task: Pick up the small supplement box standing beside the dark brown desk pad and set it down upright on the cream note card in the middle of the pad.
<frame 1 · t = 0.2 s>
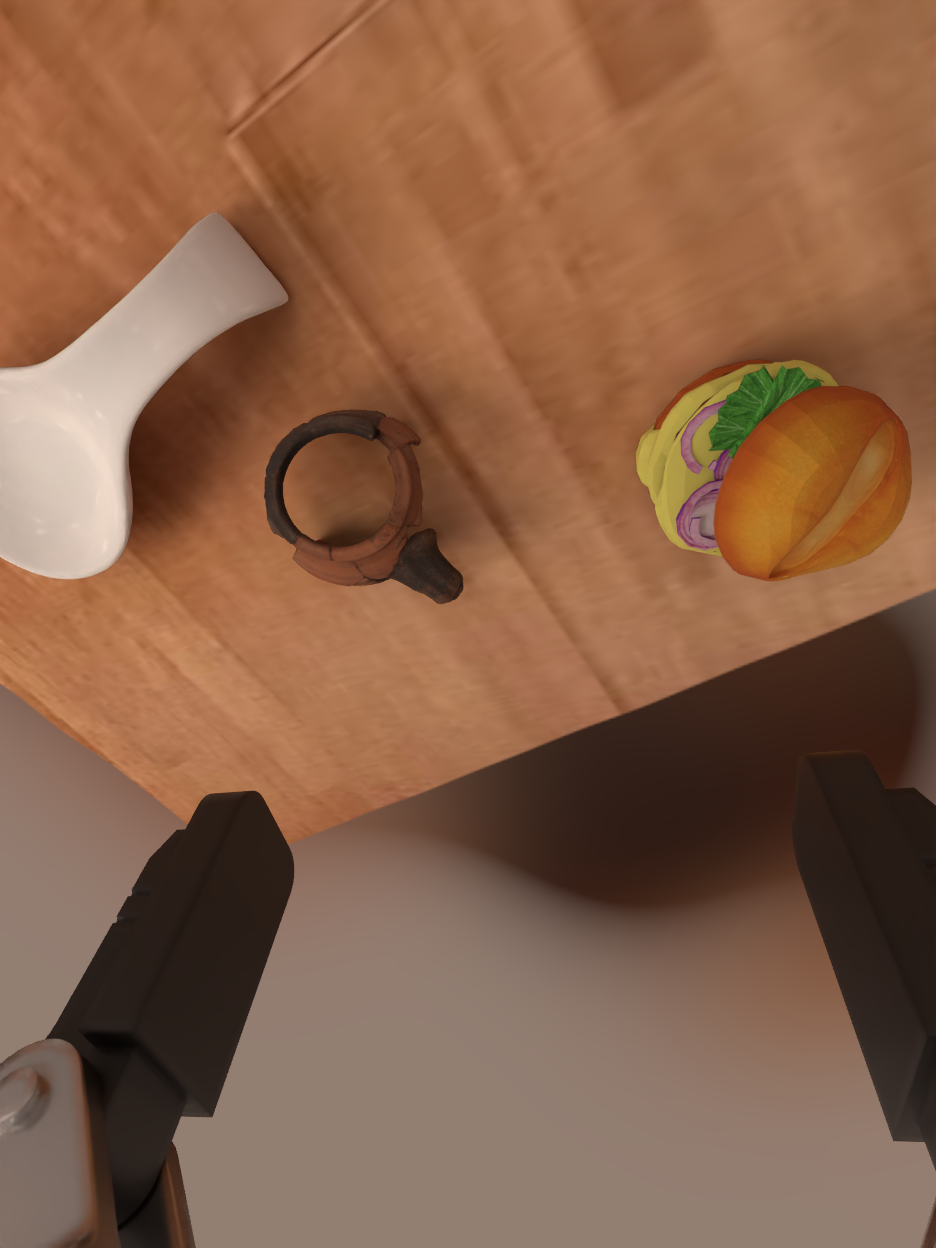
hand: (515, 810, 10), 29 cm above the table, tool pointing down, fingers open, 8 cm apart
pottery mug: (382, 498, 40), on the table
spoon rest: (120, 399, 38), on the table
cheeseburger: (746, 442, 36), on the table
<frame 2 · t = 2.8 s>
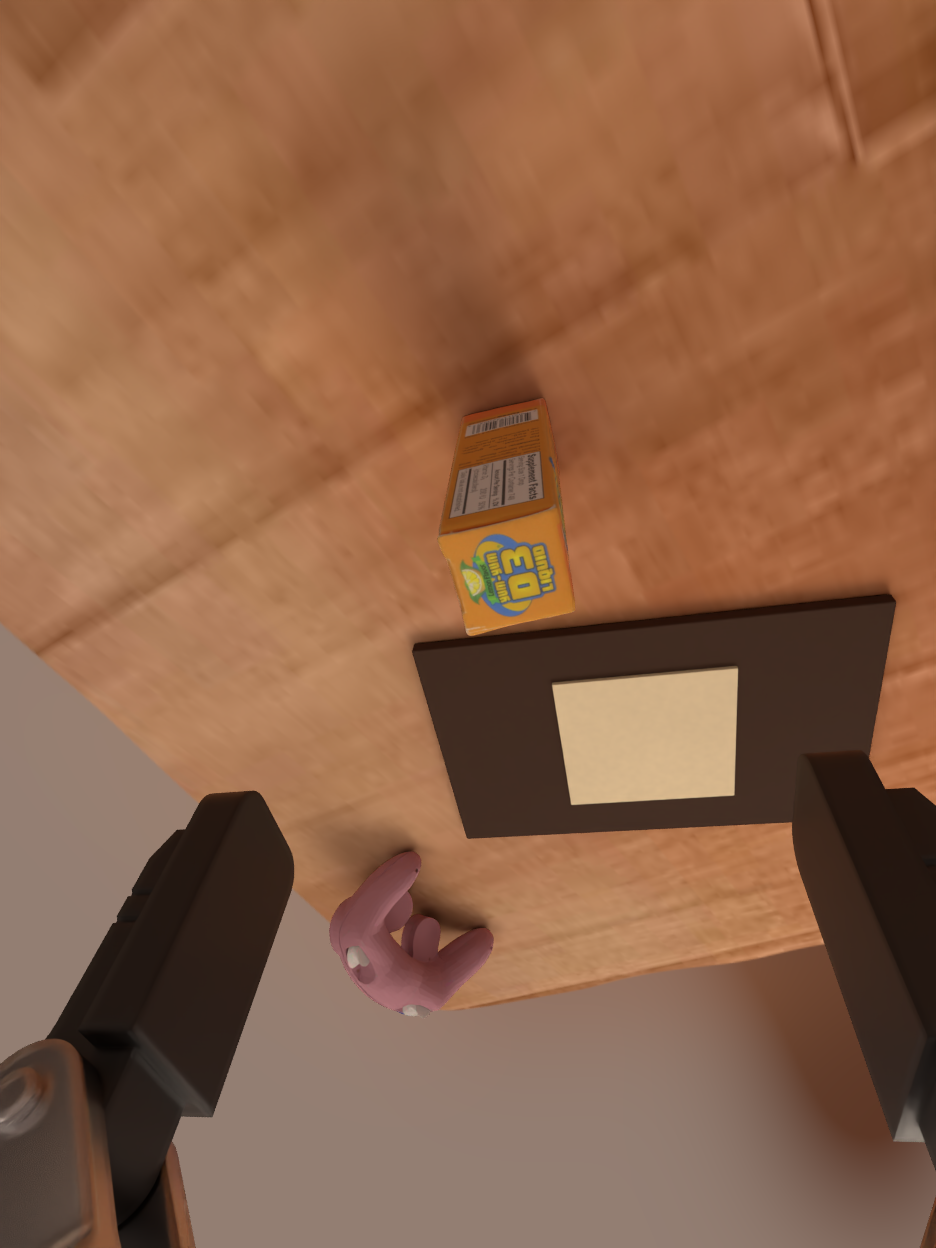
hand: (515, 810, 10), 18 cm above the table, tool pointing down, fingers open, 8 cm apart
supplement box: (515, 442, 26), on the table
video game controller: (420, 897, 43), on the table
desk pad: (645, 731, 33), on the table
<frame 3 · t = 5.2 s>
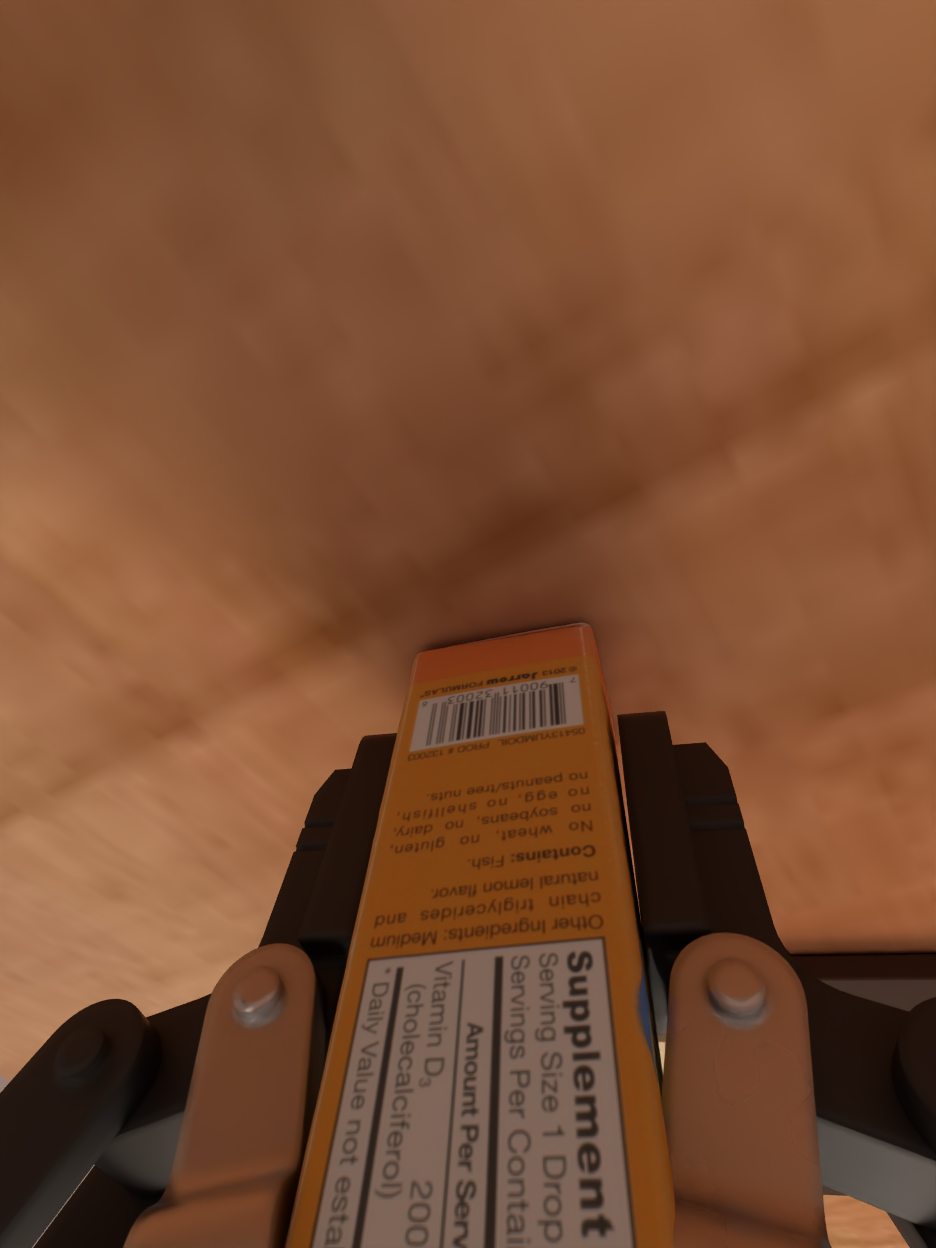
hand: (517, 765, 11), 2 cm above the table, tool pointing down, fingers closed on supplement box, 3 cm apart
supplement box: (527, 690, 13), on the table, touching gripper
desk pad: (743, 1081, 20), on the table
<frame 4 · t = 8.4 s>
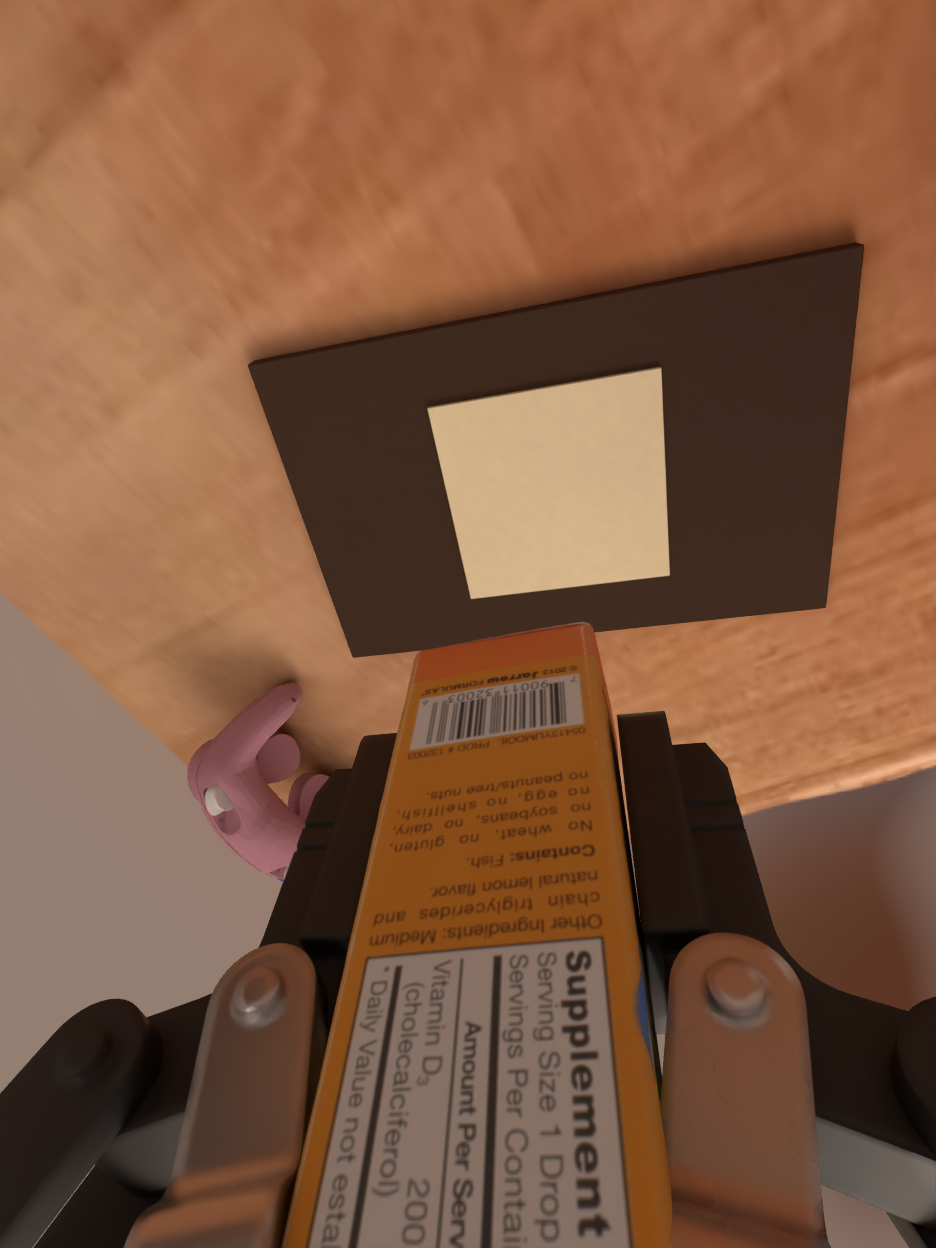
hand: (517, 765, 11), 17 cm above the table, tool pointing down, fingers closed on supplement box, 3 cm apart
supplement box: (528, 689, 13), point 15 cm above the table, touching gripper
video game controller: (313, 752, 36), on the table
desk pad: (555, 488, 26), on the table
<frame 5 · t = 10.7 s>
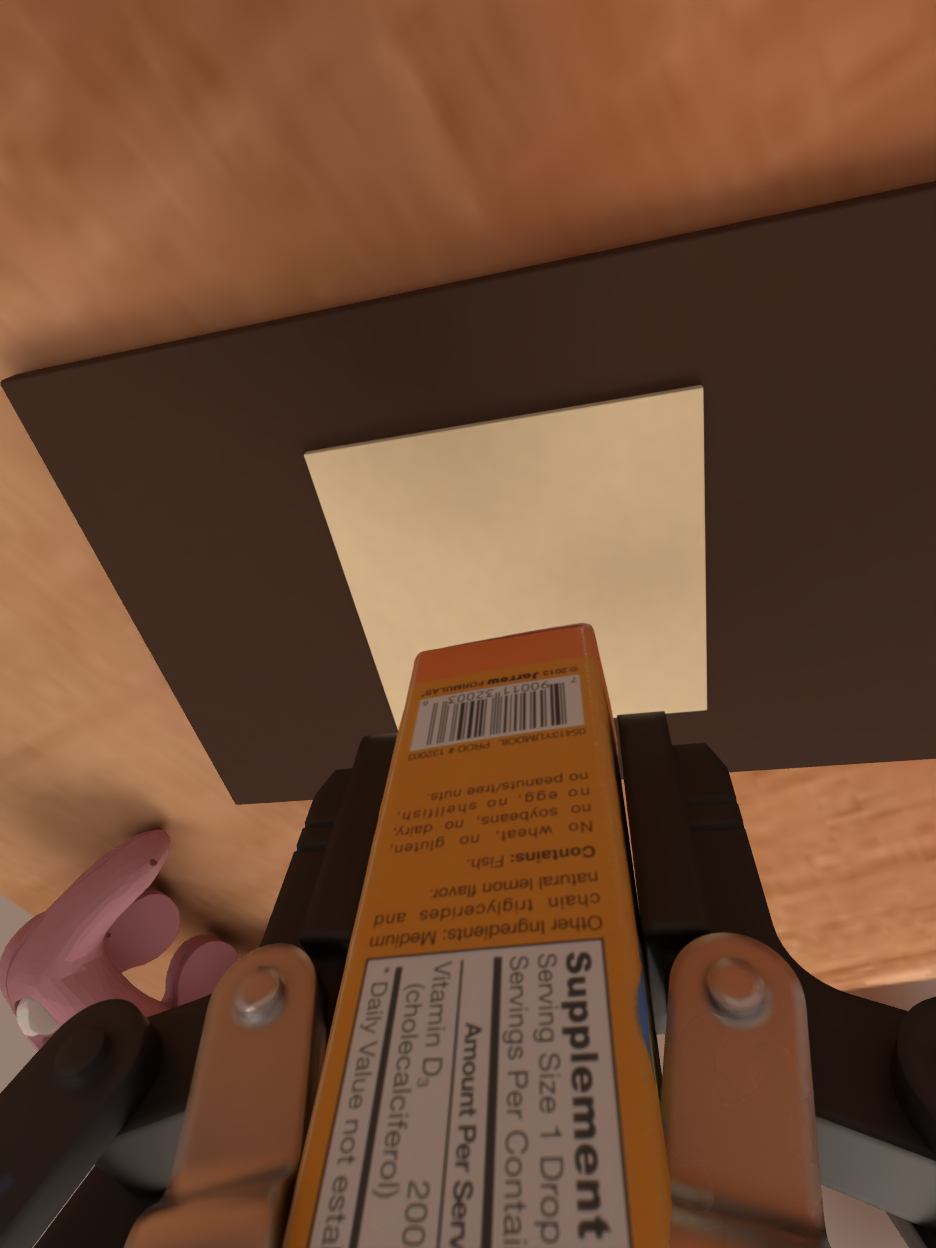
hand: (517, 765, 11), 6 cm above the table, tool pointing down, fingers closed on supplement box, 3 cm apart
supplement box: (528, 690, 13), point 4 cm above the table, touching gripper
video game controller: (203, 907, 26), on the table
desk pad: (524, 576, 16), on the table
when the fingers open (2 cm above the table, at t = 12.0 s): supplement box stays where it is, resting on desk pad.
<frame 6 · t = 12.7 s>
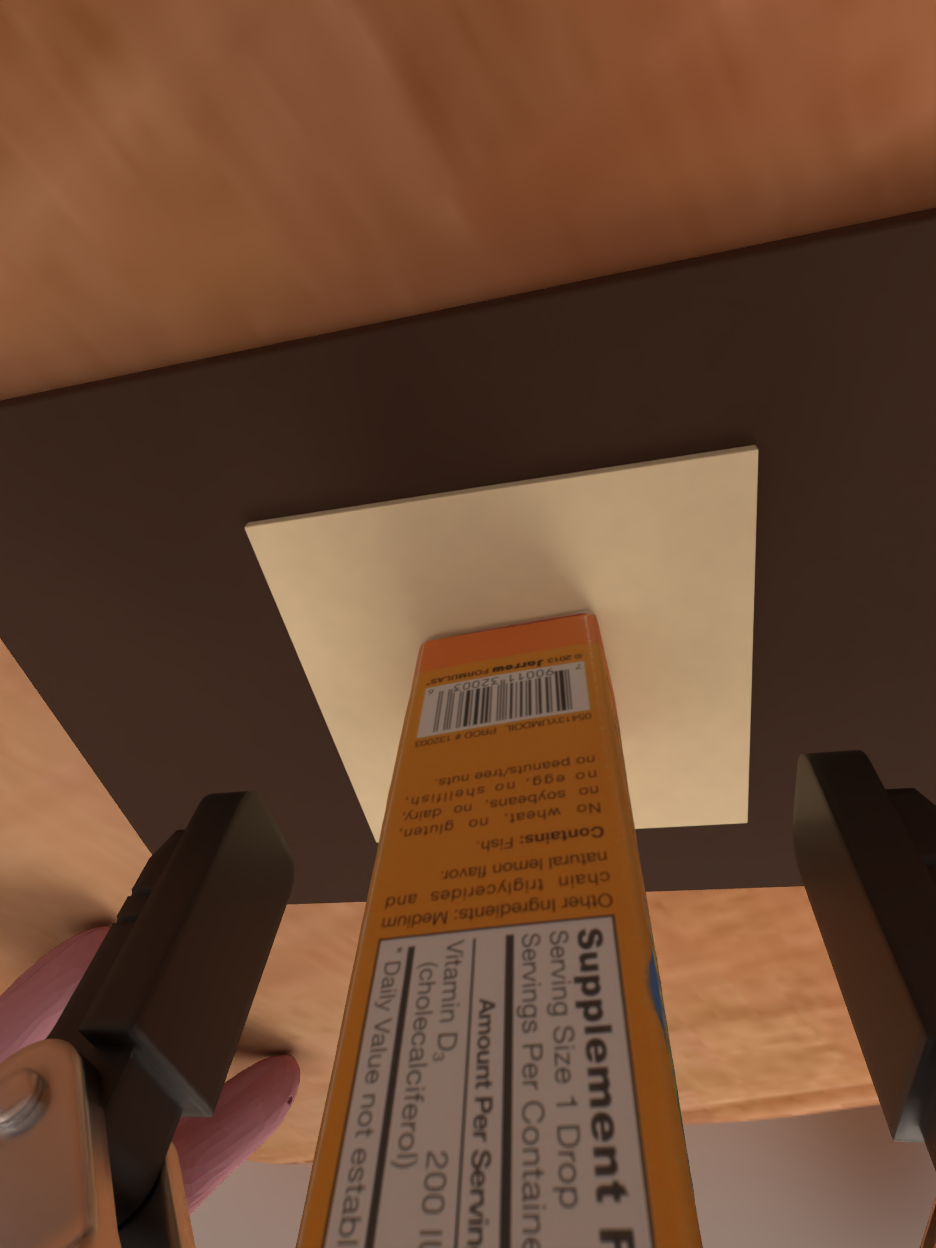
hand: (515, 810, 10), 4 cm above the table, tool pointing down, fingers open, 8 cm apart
supplement box: (531, 680, 13), point 1 cm above the table, touching desk pad
video game controller: (163, 1002, 23), on the table
desk pad: (524, 665, 13), on the table
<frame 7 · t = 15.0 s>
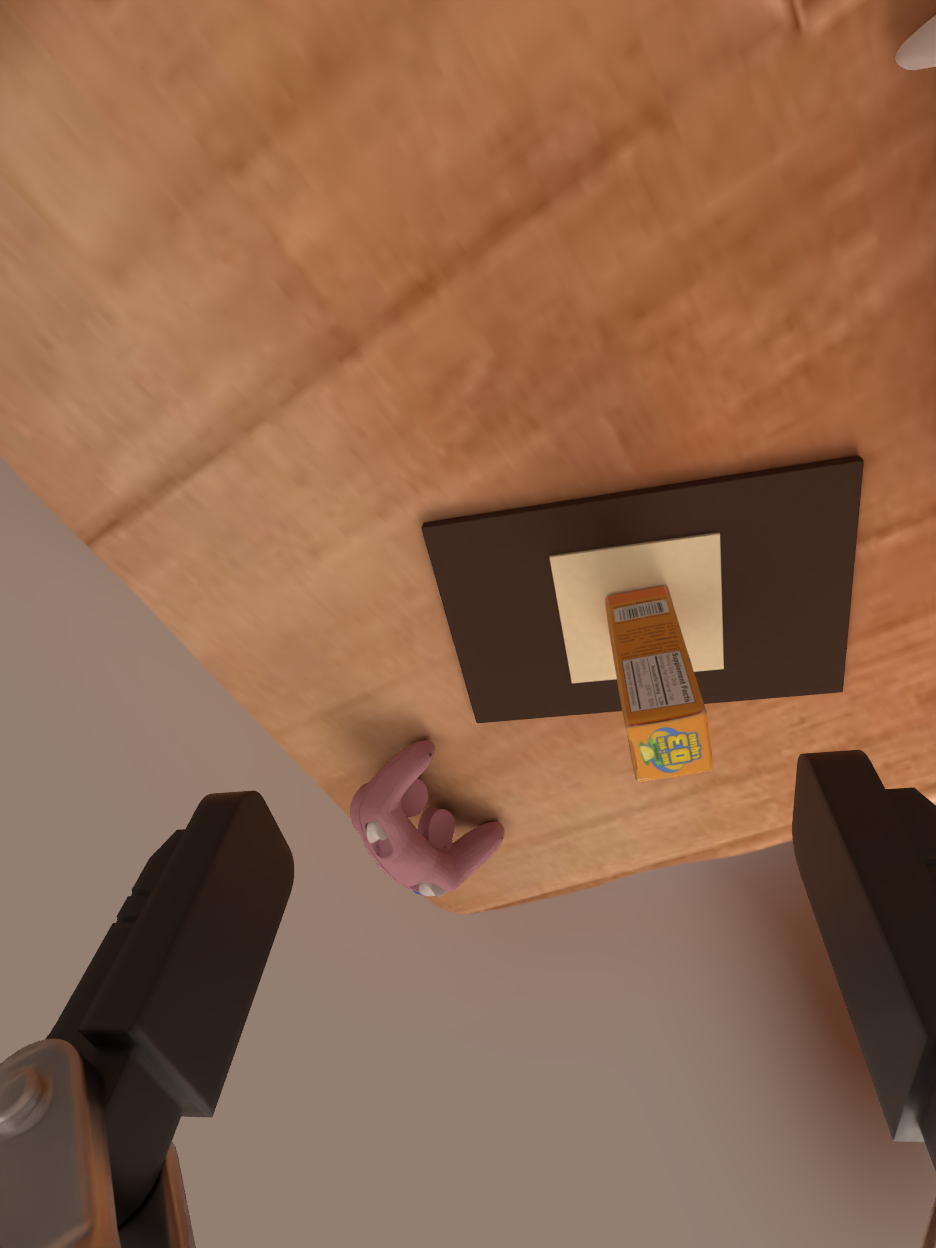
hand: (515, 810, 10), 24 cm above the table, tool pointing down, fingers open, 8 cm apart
supplement box: (642, 611, 35), point 1 cm above the table, touching desk pad
video game controller: (435, 791, 46), on the table
desk pad: (638, 606, 36), on the table
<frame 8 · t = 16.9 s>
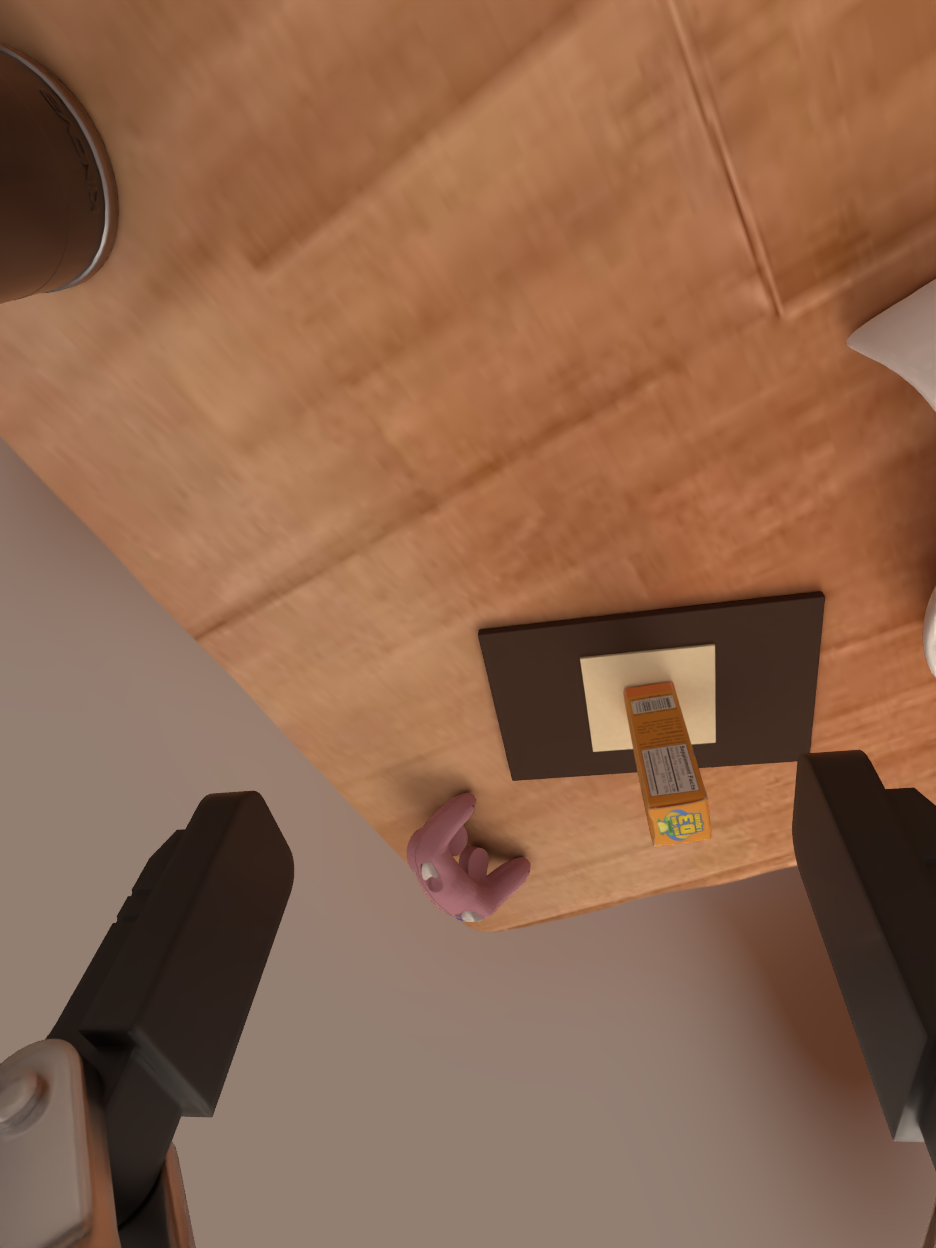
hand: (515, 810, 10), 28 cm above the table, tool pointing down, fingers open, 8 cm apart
supplement box: (652, 698, 44), point 1 cm above the table, touching desk pad
video game controller: (472, 832, 54), on the table
desk pad: (648, 694, 44), on the table
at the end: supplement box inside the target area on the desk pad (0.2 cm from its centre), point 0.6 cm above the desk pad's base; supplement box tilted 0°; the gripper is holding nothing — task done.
